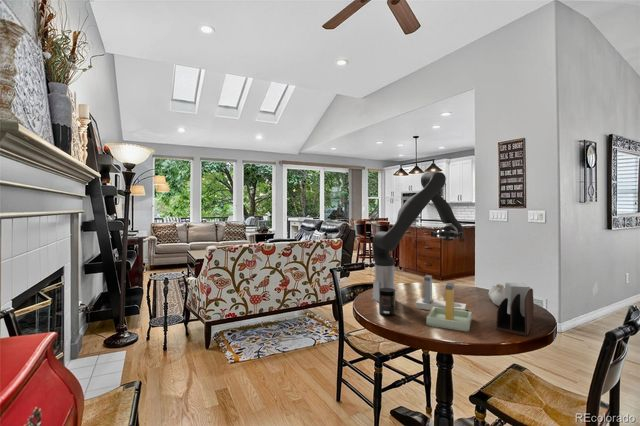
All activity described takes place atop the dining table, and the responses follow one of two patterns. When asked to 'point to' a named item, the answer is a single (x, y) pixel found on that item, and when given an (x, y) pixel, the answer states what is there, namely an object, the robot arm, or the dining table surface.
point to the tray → (458, 323)
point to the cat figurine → (497, 294)
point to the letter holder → (516, 315)
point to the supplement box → (513, 290)
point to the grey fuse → (428, 289)
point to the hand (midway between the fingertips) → (444, 235)
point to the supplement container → (387, 301)
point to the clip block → (438, 305)
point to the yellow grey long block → (449, 301)
